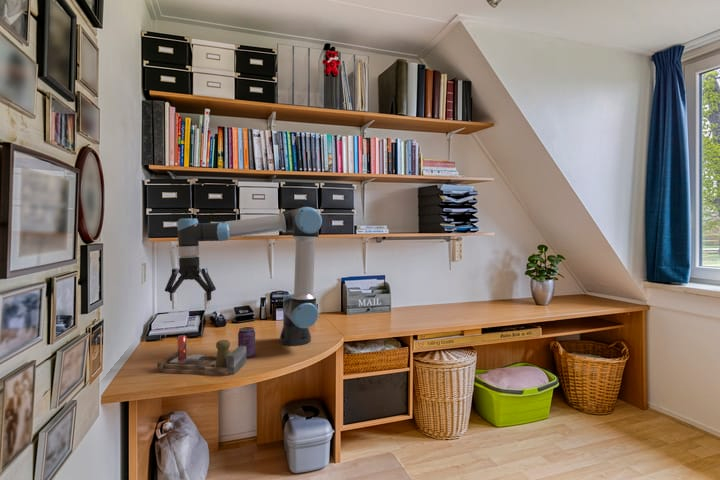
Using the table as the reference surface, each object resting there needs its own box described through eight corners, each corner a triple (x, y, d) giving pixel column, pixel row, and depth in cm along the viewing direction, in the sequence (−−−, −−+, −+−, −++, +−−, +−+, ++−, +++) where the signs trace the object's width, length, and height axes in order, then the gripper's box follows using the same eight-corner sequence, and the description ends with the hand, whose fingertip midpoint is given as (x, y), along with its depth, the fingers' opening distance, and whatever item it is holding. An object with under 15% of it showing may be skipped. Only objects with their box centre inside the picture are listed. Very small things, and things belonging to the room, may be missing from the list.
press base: (247, 362, 157) (247, 345, 157) (232, 375, 143) (232, 357, 143) (178, 359, 160) (177, 343, 160) (157, 372, 146) (156, 354, 146)
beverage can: (245, 352, 169) (245, 326, 168) (258, 354, 166) (258, 327, 166) (234, 357, 162) (234, 330, 162) (248, 360, 160) (248, 331, 159)
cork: (212, 370, 148) (211, 342, 148) (220, 364, 154) (219, 337, 154) (226, 371, 147) (226, 343, 147) (234, 365, 153) (233, 338, 153)
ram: (206, 360, 155) (206, 334, 155) (196, 367, 147) (195, 339, 147) (180, 359, 156) (180, 333, 156) (169, 366, 148) (168, 339, 148)
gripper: (223, 255, 157) (224, 306, 158) (164, 256, 159) (167, 306, 160) (214, 257, 150) (216, 310, 150) (153, 257, 151) (156, 310, 152)
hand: (191, 308), depth 155 cm, fingers open, 13 cm apart
